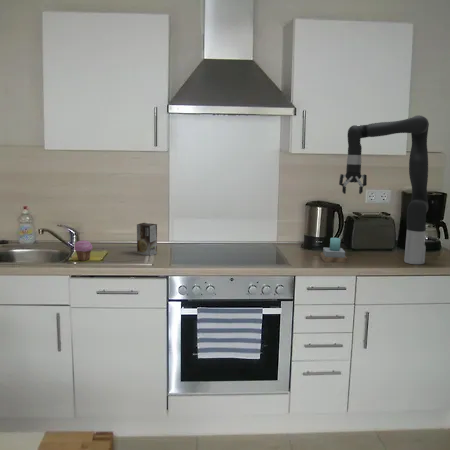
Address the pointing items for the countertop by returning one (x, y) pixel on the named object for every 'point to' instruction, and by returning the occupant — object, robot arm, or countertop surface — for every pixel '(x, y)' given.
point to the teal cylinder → (335, 244)
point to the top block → (334, 253)
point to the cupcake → (83, 250)
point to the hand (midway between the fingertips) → (352, 193)
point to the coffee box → (147, 239)
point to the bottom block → (333, 259)
